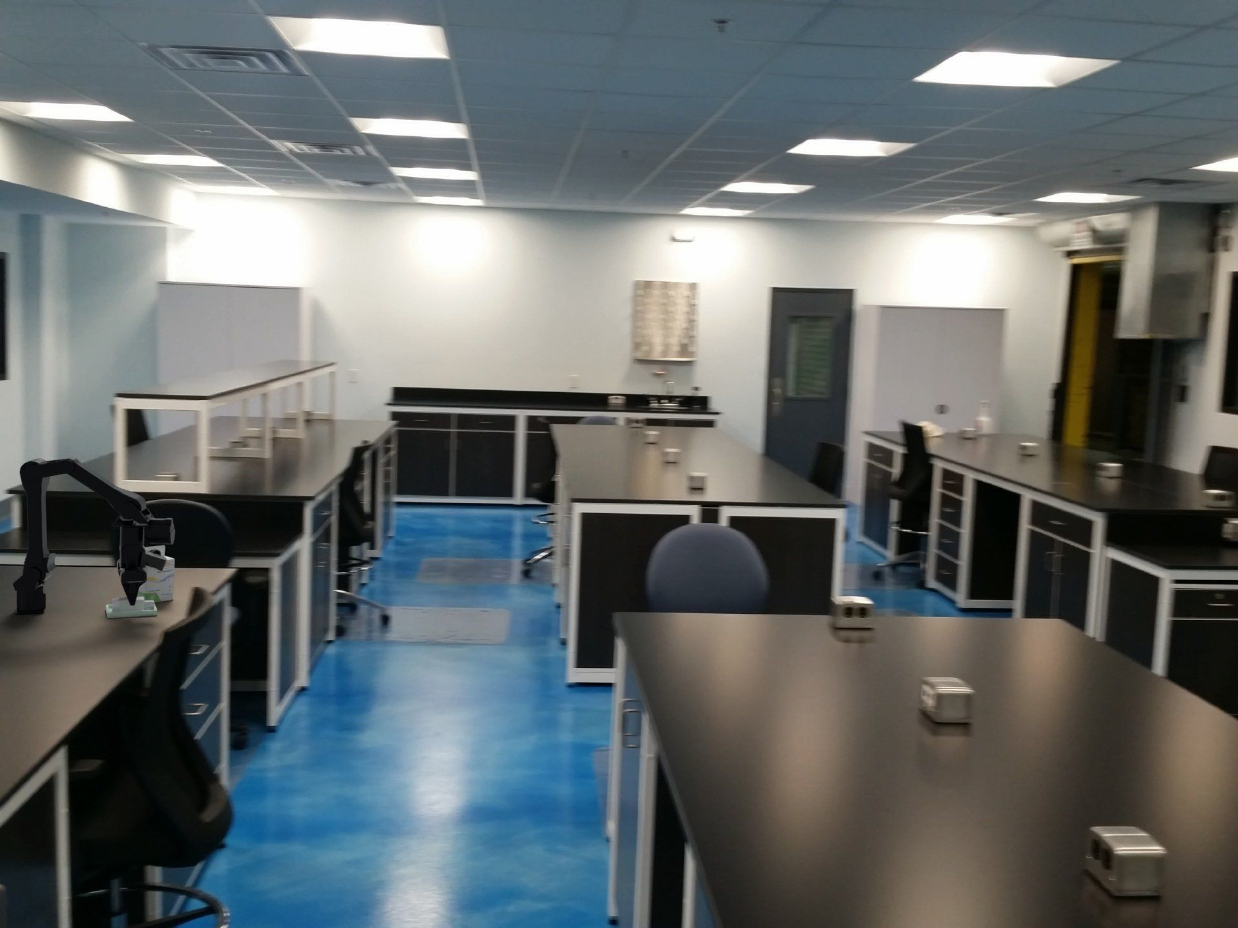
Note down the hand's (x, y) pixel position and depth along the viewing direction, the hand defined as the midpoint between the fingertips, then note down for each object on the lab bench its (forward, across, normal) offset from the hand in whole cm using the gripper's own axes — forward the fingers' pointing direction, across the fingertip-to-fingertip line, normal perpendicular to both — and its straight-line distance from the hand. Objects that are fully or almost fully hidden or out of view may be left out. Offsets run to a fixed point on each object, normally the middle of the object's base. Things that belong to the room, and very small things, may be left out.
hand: (131, 601), depth 311 cm
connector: (+2, 0, 0) cm, 2 cm away
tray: (+3, 0, 0) cm, 3 cm away
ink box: (+3, +13, -7) cm, 15 cm away
